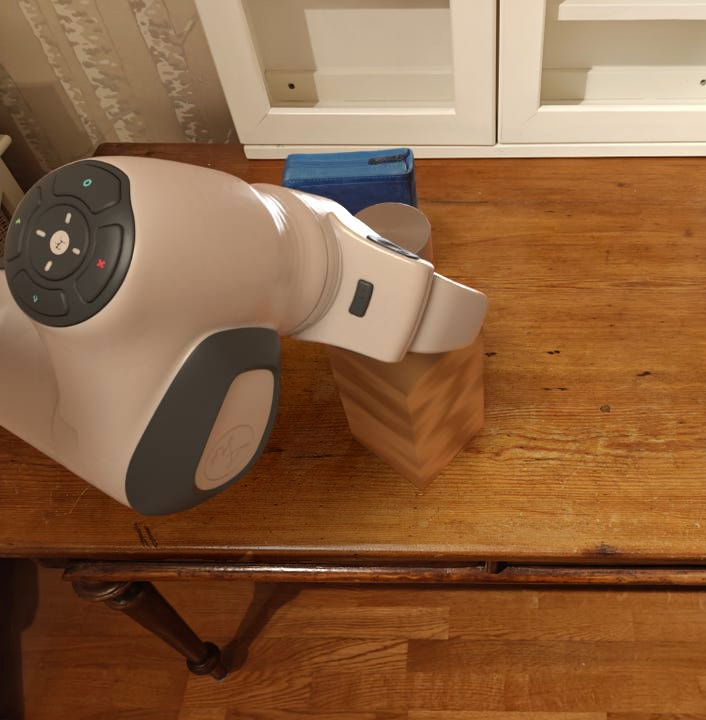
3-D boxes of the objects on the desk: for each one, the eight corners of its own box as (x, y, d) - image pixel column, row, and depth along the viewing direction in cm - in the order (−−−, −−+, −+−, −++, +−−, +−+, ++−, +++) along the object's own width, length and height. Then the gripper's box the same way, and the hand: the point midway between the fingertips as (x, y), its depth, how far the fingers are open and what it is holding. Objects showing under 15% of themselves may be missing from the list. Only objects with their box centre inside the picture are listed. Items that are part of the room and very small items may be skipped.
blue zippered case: (431, 271, 89) (419, 138, 73) (432, 302, 86) (419, 170, 70) (318, 277, 89) (281, 144, 73) (315, 308, 86) (275, 177, 70)
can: (404, 367, 58) (389, 275, 49) (348, 330, 60) (325, 236, 52) (454, 320, 61) (449, 225, 52) (399, 286, 63) (385, 190, 55)
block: (423, 491, 71) (406, 392, 56) (353, 438, 75) (320, 333, 60) (484, 425, 76) (483, 318, 61) (415, 378, 79) (398, 267, 65)
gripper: (160, 252, 47) (287, 264, 60) (413, 376, 41) (494, 359, 54) (184, 161, 46) (309, 193, 59) (449, 274, 40) (524, 282, 52)
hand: (399, 273), depth 56 cm, fingers closed on can, 6 cm apart
